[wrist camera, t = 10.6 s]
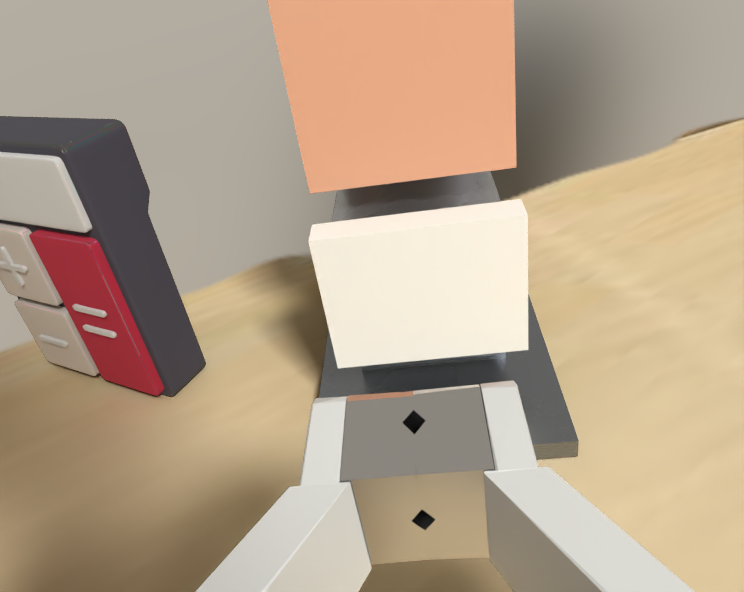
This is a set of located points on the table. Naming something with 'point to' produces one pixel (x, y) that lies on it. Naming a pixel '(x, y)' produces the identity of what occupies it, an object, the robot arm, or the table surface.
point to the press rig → (523, 367)
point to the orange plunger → (398, 87)
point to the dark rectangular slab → (90, 255)
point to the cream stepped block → (424, 283)
